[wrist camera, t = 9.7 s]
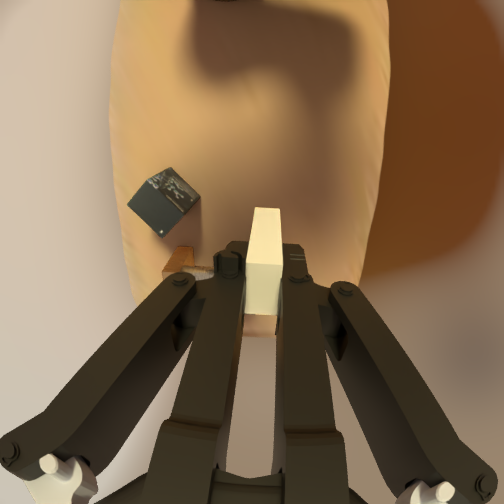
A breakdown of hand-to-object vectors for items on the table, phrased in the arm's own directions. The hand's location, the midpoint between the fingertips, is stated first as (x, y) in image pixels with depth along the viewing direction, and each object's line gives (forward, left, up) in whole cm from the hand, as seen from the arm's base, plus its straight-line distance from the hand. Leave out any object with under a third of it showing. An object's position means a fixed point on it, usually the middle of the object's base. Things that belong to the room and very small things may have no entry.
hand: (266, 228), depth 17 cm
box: (+6, -16, -30) cm, 35 cm away
